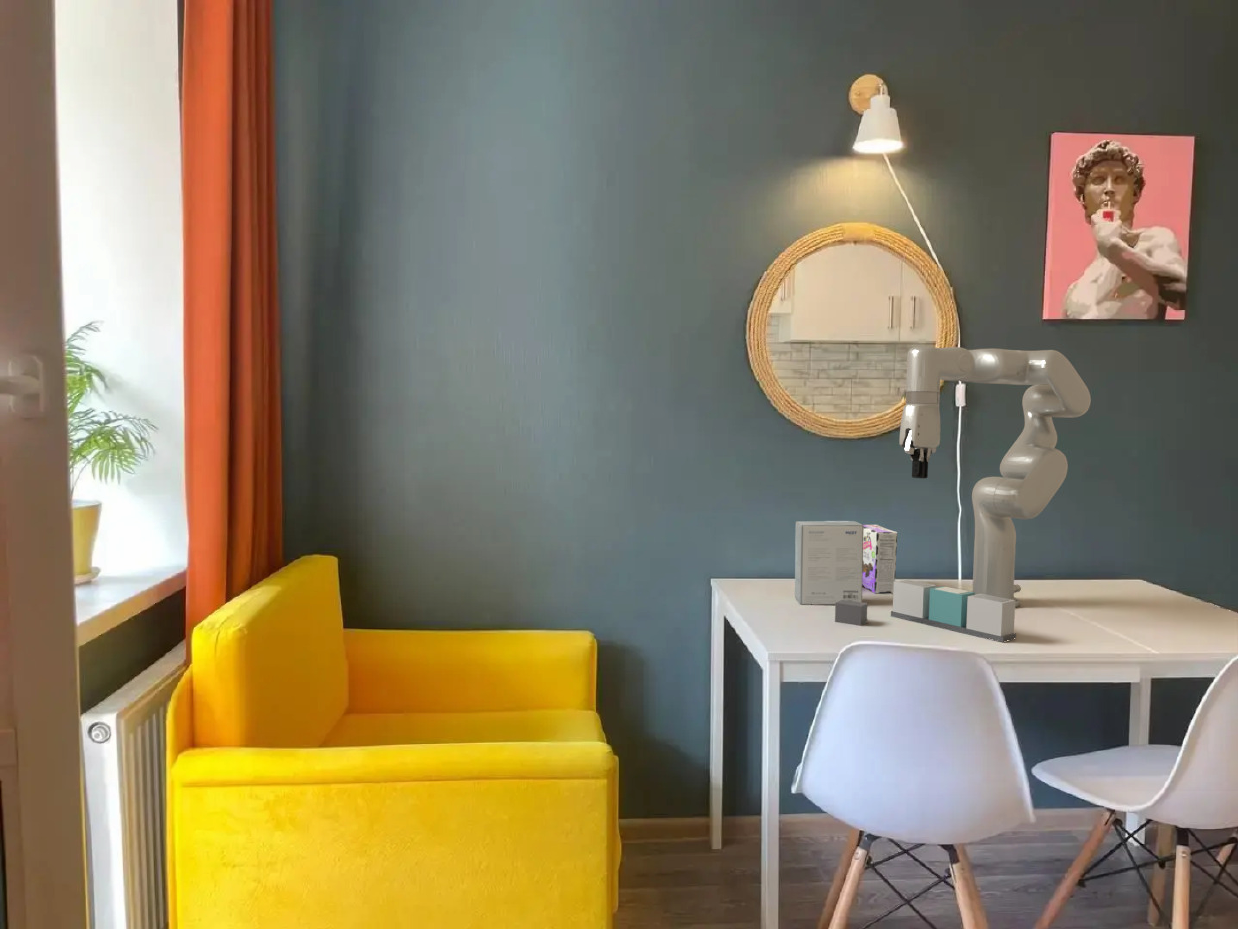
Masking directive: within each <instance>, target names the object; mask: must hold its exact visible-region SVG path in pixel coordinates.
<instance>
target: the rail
mask: <svg viewBox="0 0 1238 929" xmlns="http://www.w3.org/2000/svg"><path fill="white" fill-rule="evenodd" d="M890 617H892V618H893V617H894V618H898V619H902V620H906V621H911V622H915V623H918V624H919V623H920V624H923V625H927V626H932V627H936V628H939V629H943V630H944V629H945V630H948V631H952V632H957V633H961V634H965V635H969V636H974V637H978V638H983V639H986V638H990V639H993V640H992V641H995V640H998V641H997V642H999V641H1002V642H1001V643H1005V642H1004V641H1007V640H1010V641H1012V640H1011V639H1014V638H1016V639H1017V633H1016V632H1014V633H1012V634H1008V635H1004V636H997V635H993V634H989V633H984V632H980V631H976V630H971V629H967V628H966V626H967V625H966V626H962V627H959V626H955V625H951V624H946V623H942V622H938V621H933V620H929V617H926V618H919V617H915V616H910V615H906V614H902V613H897V612H893V610H891V611H890ZM990 639H989V640H990ZM1014 640H1015V639H1014ZM1007 642H1008V641H1007Z"/></svg>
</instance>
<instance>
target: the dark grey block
mask: <svg viewBox="0 0 1238 929" xmlns="http://www.w3.org/2000/svg"><path fill="white" fill-rule="evenodd" d="M834 622H835V623H840V624H844V625H846V624H847V625H853V626H860V627H861V626H864V625H865V624H866V623H867V622H868V603H867V602H863V601H862V602H854V601H847V600H840V601H838V602H836V604H835V609H834Z"/></svg>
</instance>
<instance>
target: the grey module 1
mask: <svg viewBox="0 0 1238 929" xmlns="http://www.w3.org/2000/svg"><path fill="white" fill-rule="evenodd" d="M937 586H938V585H936V584H932V583H928V582H923V581H917V580H912V579H902V580H895V582H894V590H893V594H892V597H893V598H892V611H893V612H897V613H902V614H906V615H910V616H915V617H919V618H926V617H929V601H930V589H931V588H936V587H937Z"/></svg>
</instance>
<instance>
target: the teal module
mask: <svg viewBox="0 0 1238 929" xmlns="http://www.w3.org/2000/svg"><path fill="white" fill-rule="evenodd" d="M972 595H975V592H973V591H969V590H964V589H960V588H955V587H949V586H943V585H942V586H938V587H936V588H931V589H930V601H929V620H933V621H938V622H942V623H946V624H951V625H955V626H959V627H962V626H966V625H967V602H968V596H972Z"/></svg>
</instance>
